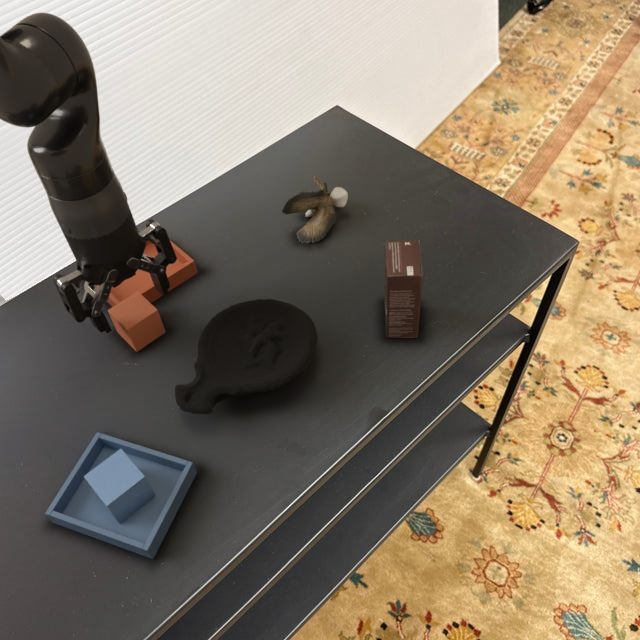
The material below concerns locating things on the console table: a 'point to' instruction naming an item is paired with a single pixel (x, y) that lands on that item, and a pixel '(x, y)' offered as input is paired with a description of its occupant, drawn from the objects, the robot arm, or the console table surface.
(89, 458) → the blue tray
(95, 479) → the blue block
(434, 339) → the console table surface
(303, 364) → the oil lamp
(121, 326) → the terracotta block
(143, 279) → the terracotta tray
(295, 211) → the eagle figurine
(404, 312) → the box
